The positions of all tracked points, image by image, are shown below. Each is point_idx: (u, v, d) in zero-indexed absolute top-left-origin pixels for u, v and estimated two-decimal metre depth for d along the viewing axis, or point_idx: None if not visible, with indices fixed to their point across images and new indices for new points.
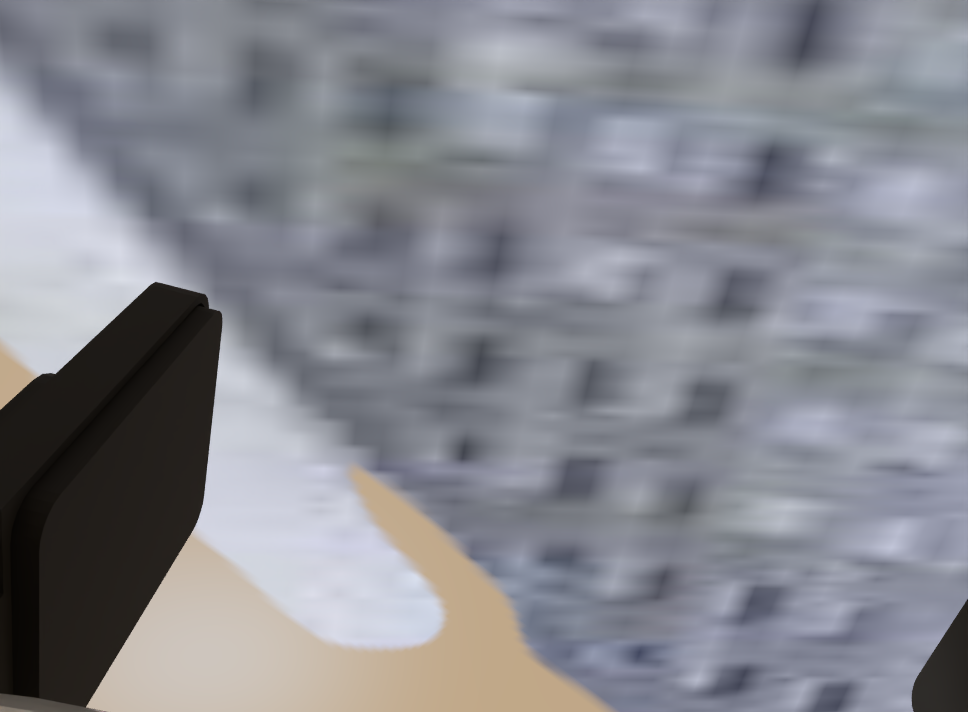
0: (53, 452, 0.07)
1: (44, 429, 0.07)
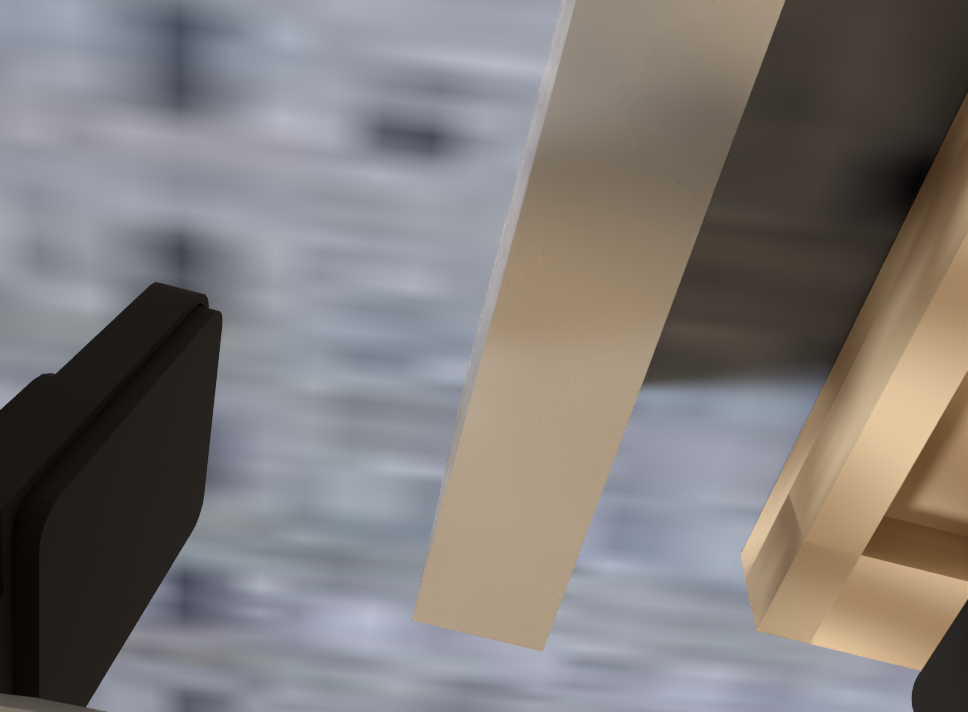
0: (55, 452, 0.07)
1: (44, 429, 0.07)
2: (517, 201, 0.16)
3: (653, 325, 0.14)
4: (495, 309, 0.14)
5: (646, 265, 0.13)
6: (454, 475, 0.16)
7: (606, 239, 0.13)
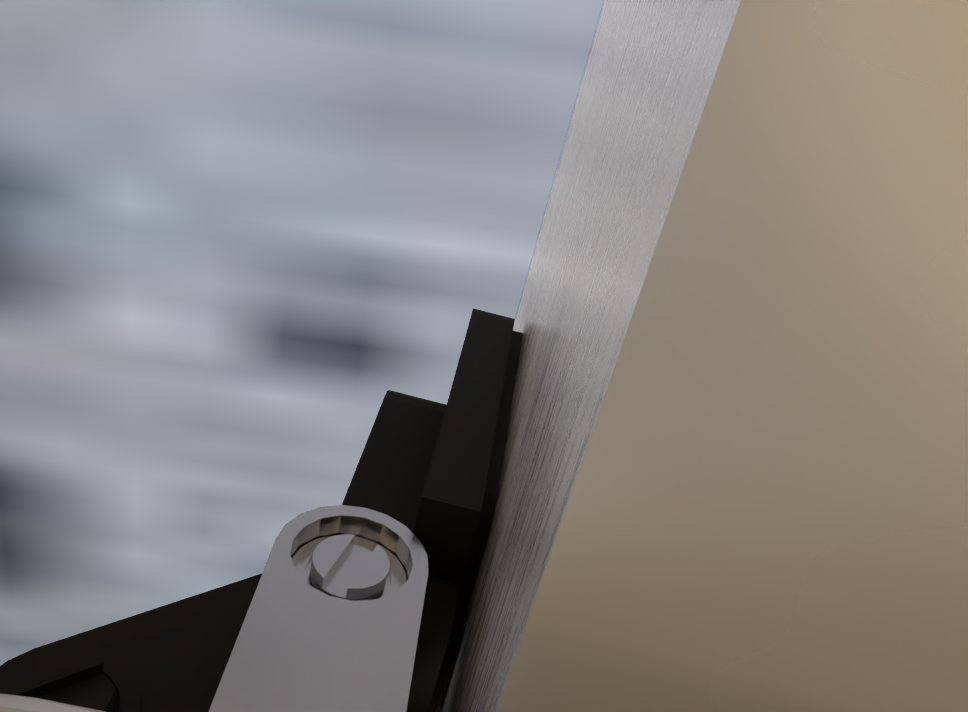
0: (490, 462, 0.08)
1: (470, 443, 0.08)
2: (462, 636, 0.08)
3: None
4: None
5: None
6: None
7: None
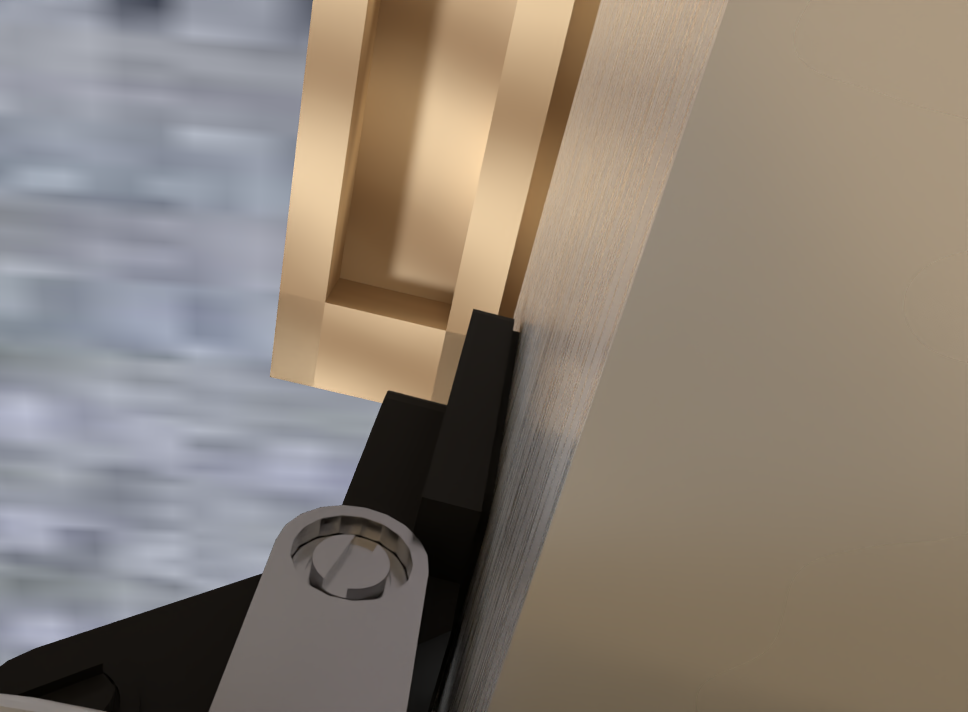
0: (489, 462, 0.08)
1: (470, 443, 0.08)
2: (455, 642, 0.08)
3: None
4: None
5: None
6: None
7: None
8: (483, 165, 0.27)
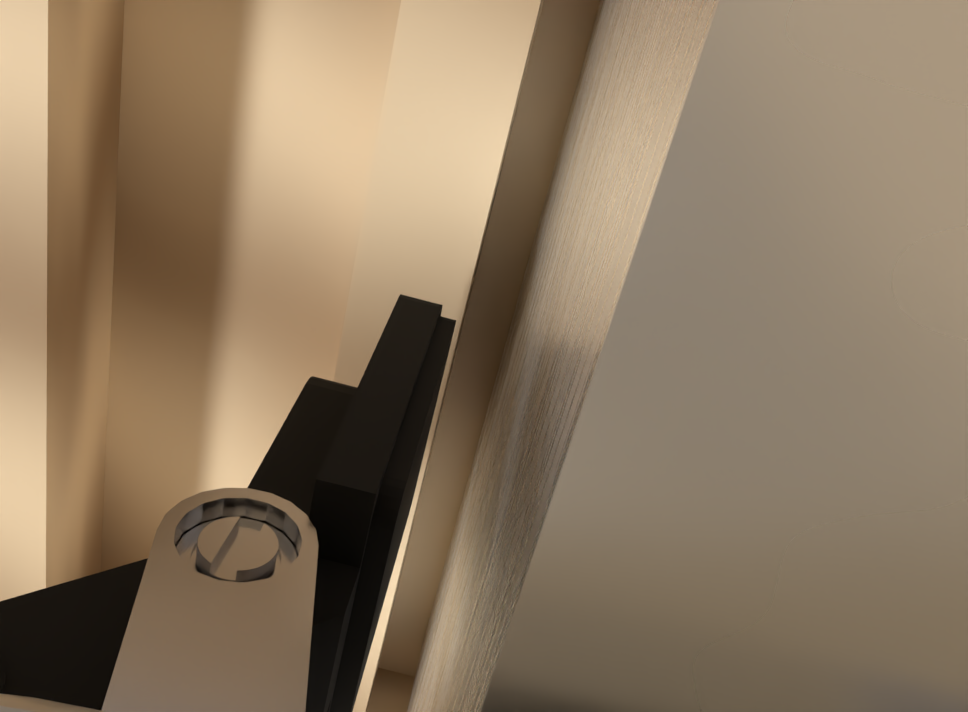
0: (392, 445, 0.08)
1: (376, 426, 0.08)
2: (458, 624, 0.08)
3: None
4: None
5: None
6: None
7: None
8: None
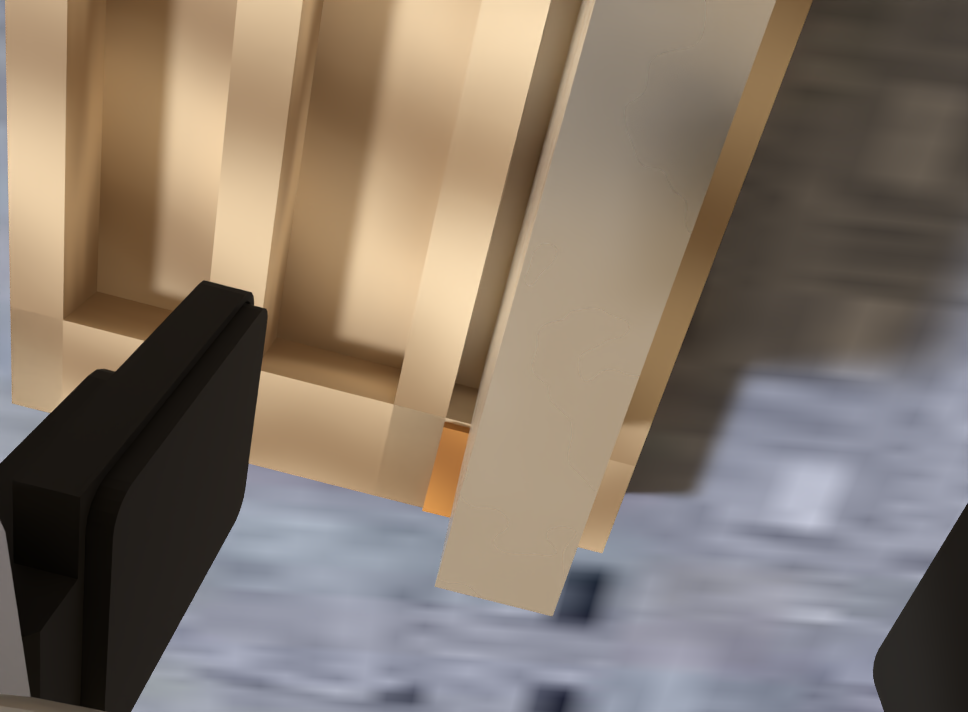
0: (125, 442, 0.07)
1: (113, 421, 0.08)
2: (532, 209, 0.18)
3: (652, 315, 0.16)
4: (514, 301, 0.16)
5: (646, 262, 0.15)
6: (475, 450, 0.17)
7: (610, 239, 0.15)
8: (223, 165, 0.23)
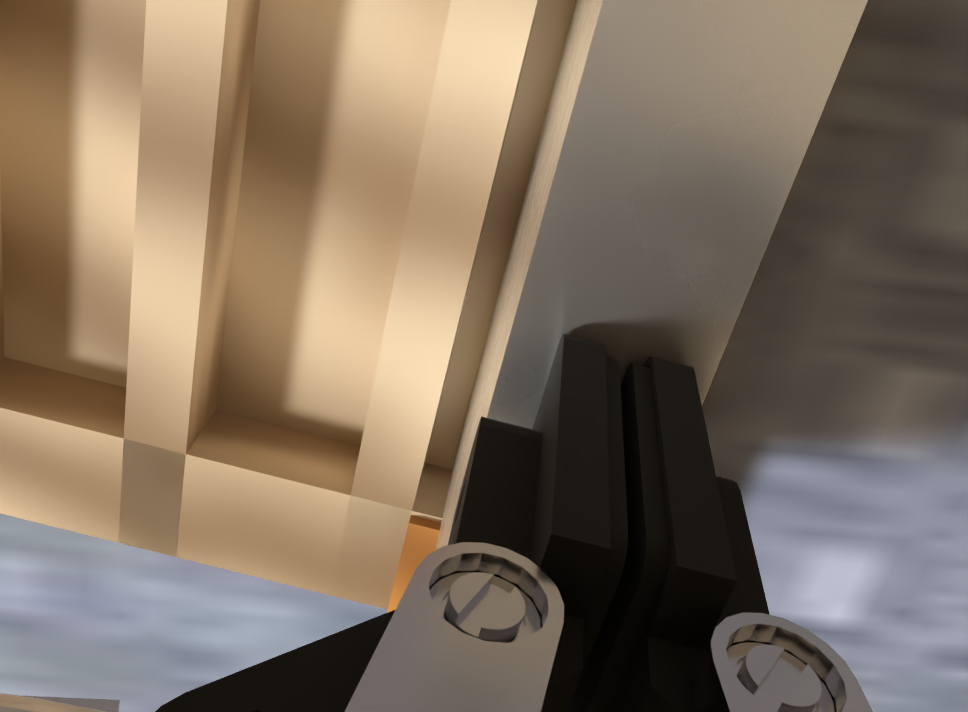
0: (608, 496, 0.08)
1: (587, 476, 0.08)
2: (509, 300, 0.14)
3: None
4: None
5: None
6: None
7: None
8: (137, 219, 0.19)
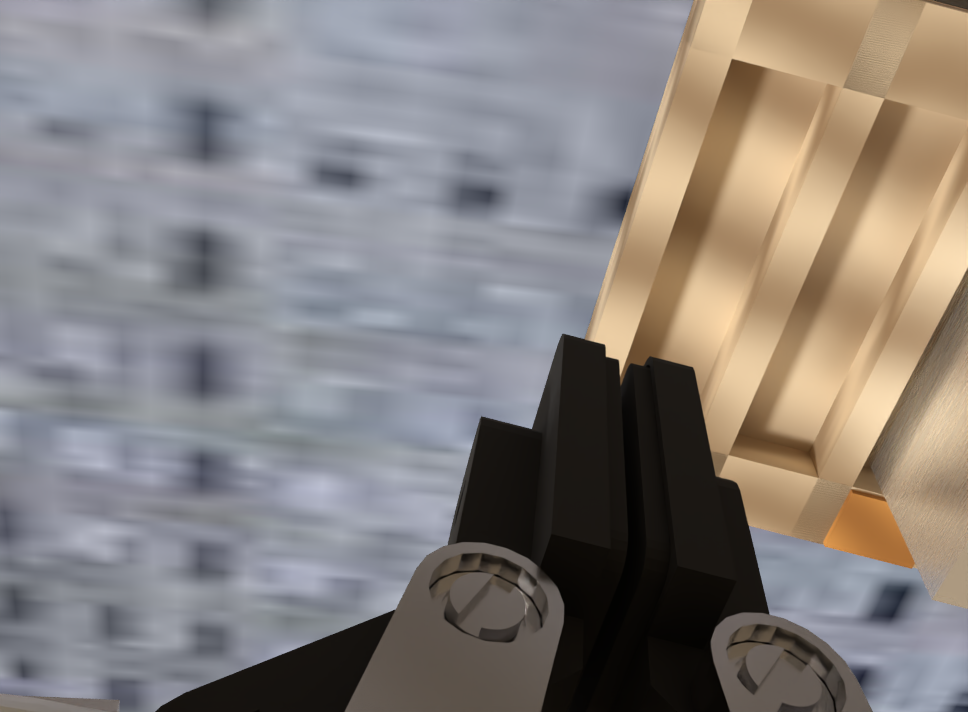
0: (609, 497, 0.08)
1: (587, 476, 0.08)
2: None
3: None
4: None
5: None
6: None
7: None
8: (742, 333, 0.37)
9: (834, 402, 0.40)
